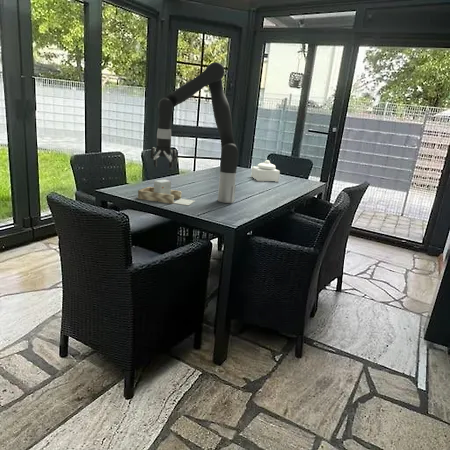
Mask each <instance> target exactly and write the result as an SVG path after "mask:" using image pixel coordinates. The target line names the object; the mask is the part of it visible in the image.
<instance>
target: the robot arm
mask: <svg viewBox="0 0 450 450" xmlns="http://www.w3.org/2000/svg"><path fill="white" fill-rule="evenodd" d="M224 76H225V67H224V65H223V64H221V63H220V62H217V61H216V62H211V63H210V64H208V65H207V66H206V68H205V69H204V71H202V72H201V73H200V74H198V75H197V76H196V77H194V78H193V79H191V80H190V81H187V82H186V83H184V84H183V85H181V86H179V87H178V88H177V89H175V90H173V91H172V92H171V93H169V94H167V95H166V96H164V97H162V98H161V99H160V100H159V101H158V103H157V108H158V119H157V132H156V147H155V146H153V147H151V148H150V157H149V158H150V159H151V160H153V166H154V168H157V167H158V159H159V157H164V158H166V159H167V160H168V161H169V162H168V169H169V170H171V169H172V168H173V167H174V162H175V161H177V149H172V148H171V147H172V116H173V109H174V108H175V107H176V106H178V105H180V104H182V103H184V102H186V101H187V100H188V99H190V98H191V97H192V96H193V95H195V94H197V93H198V92H199V91H200V90H202V89H203V88H205V87H207V86H208V89H209V93H210V99H211V106H212V113H213V117H214V120H215V126H216V128H217V130H218V131H217V132H218V133H219V139H220V145H221V146H220V147H221V148H220V149H221V157H220V159H221V160H220V168H219V178H218V179H219V181H218V191H217V201H218V202H220V203H225V204H232V203H234V202H235V197H236V188H237V186H236V178H237V177H236V176H237V169H238V162H239V161H238V159H239V149H238V147H237V145H236V141H235V138H234V134H233V120H232V119H233V118H232V113H231V112H232V111H231V108H230V104H229V102H228V98H227V96H226V94H225V92H224V88H223V77H224ZM193 97H194V96H193ZM155 152H156V154H155ZM171 154H172V155H171Z"/></svg>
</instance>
